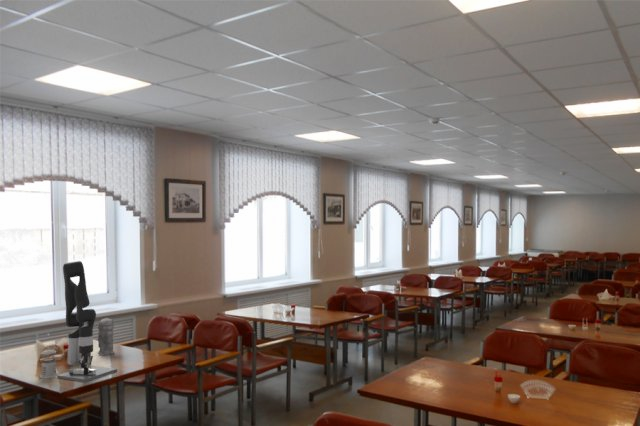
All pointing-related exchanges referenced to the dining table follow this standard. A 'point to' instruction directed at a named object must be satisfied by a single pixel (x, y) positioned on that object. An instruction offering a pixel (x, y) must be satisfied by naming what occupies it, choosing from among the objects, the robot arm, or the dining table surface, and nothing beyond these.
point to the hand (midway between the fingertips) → (86, 374)
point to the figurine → (105, 337)
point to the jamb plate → (81, 377)
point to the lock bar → (81, 371)
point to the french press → (48, 364)
